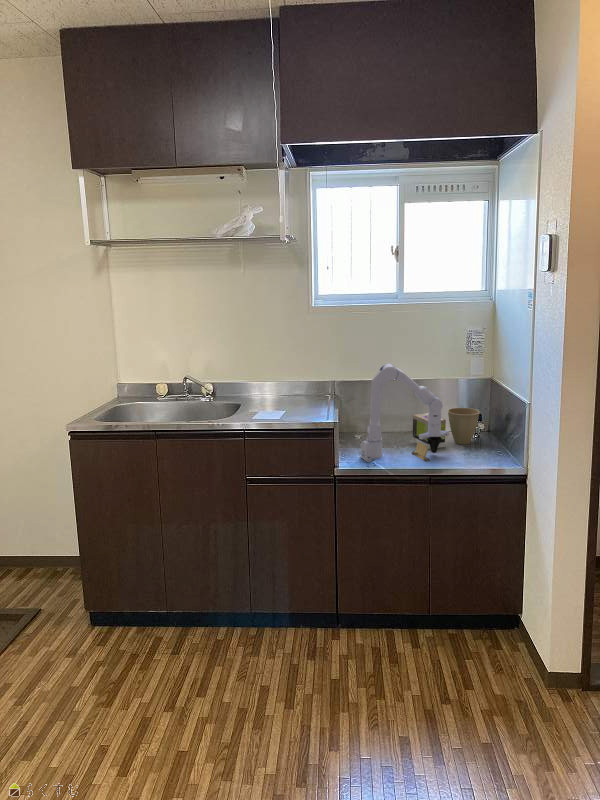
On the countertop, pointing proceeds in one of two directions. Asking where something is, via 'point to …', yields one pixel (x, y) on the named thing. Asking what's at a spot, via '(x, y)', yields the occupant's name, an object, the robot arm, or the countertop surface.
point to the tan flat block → (421, 450)
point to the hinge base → (424, 458)
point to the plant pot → (463, 424)
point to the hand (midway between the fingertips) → (433, 452)
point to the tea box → (425, 429)
